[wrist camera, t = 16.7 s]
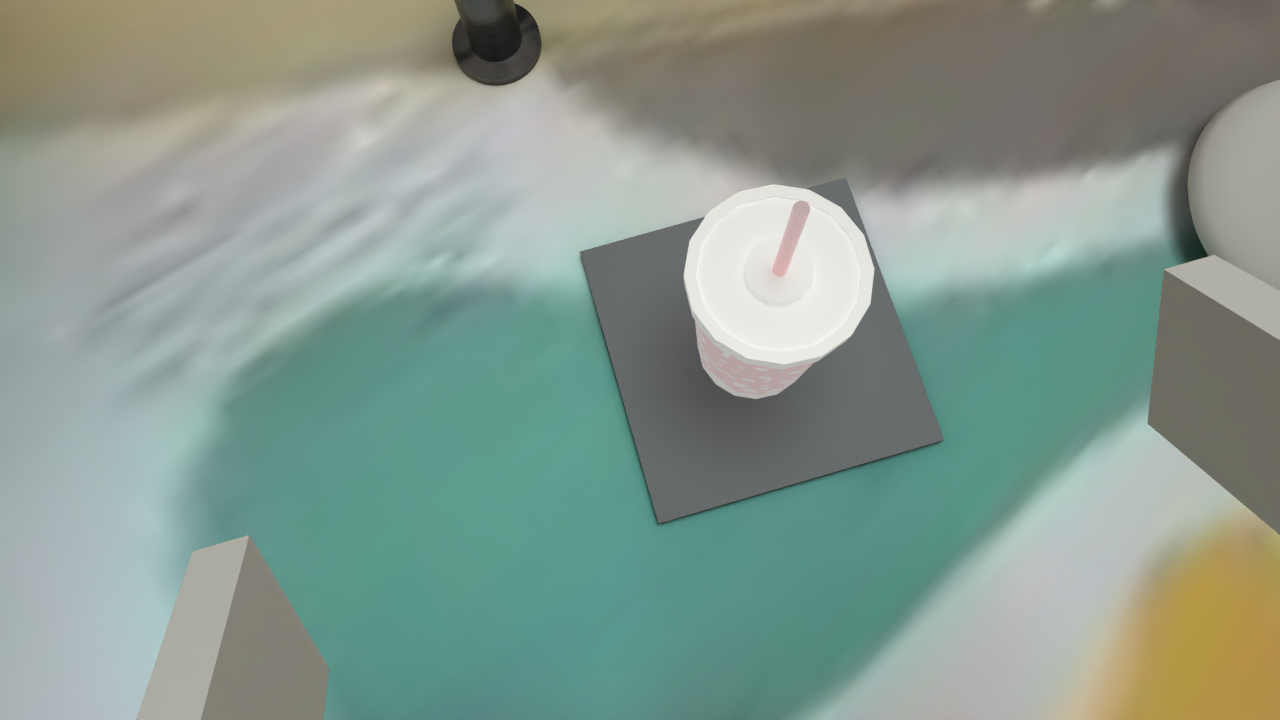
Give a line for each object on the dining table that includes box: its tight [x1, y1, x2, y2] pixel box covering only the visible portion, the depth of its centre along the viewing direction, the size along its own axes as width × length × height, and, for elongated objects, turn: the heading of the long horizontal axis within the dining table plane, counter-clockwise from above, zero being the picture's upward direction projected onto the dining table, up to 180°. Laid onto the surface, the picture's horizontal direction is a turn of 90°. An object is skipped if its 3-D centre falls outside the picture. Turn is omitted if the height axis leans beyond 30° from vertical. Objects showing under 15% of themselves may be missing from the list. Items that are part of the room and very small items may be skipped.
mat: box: [580, 178, 944, 524], centre depth 38 cm, size 12×12×1 cm
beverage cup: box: [683, 184, 874, 399], centre depth 31 cm, size 6×6×14 cm
